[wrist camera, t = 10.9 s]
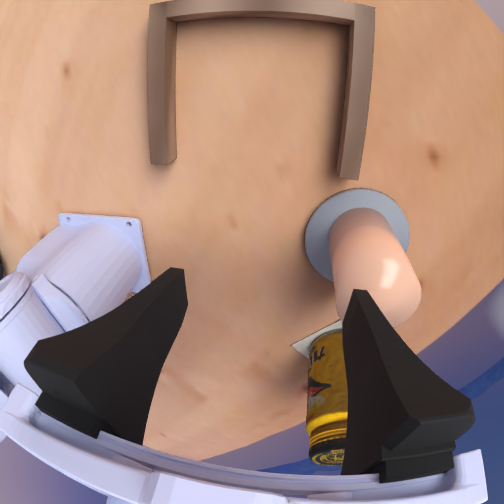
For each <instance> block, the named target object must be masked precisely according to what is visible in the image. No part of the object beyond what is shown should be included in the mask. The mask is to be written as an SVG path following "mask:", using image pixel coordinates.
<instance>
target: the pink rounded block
mask: <svg viewBox="0 0 504 504" xmlns="http://www.w3.org/2000/svg"><path fill="white" fill-rule="evenodd" d="M328 244H329V251H330V258H331V265H332V272H333V280H334V289H335V297H336V306H337V313H338V316H339V318H340V320H341V321H342V322H343V319H344V316H345V313H346V310H347V307H348V304H349V301H350V298H351V295H352V292H353V289H361V290H367V291H368V292H369V294H370V295H371V297H372V298H373V300H374V301H375V303H376V304H377V305H378V307H379V308H380V310H381V311H382V313H383V314H384V316H385V317H386V319H387V320H388V321H389V323H390V324H391V326H392V327H393V328H395V327H397V326H399V325H401V324H402V323H404V322H405V321H406V320H407V319H408V318H410V316H411V315H412V314H413V313H414V312H415V310H416V309H417V307H418V305H419V302H420V299H421V287H420V283H419V281H418V279H417V277H416V275H415V273H414V270H413V268H412V266H411V264H410V262H409V260H408V258H407V256H406V254H405V252H404V250H403V248H402V246H401V244H400V243H399V241H398V239H397V237H396V235H395V233H394V231H393V229H392V228H391V226H390V224H389V222H388V220H387V219H386V218H385V216H384V215H382V214H381V213H380V212H378V211H376V210H374V209H371V208H365V207H360V208H354V209H351V210H348V211H346V212H344V213H343V214H341V215H340V216H339V217H338V218H337V219H336V220H335V221H334V222H333V224H332V226H331V228H330V230H329V234H328Z"/></svg>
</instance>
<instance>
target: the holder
mask: <svg viewBox="0 0 504 504" xmlns="http://www.w3.org/2000/svg"><path fill="white" fill-rule="evenodd" d="M227 17H274V18H291V19H303V20H313V21H321V22H329V23H336V24H342V25H348V26H349V45H348V61H347V75H346V87H345V99H344V109H343V118H342V127H341V136H340V144H339V152H338V159H337V167H336V171H337V173H338V176H339V178H344V179H351V180H357V181H358V179H359V173H360V167H361V161H362V154H363V148H364V141H365V134H366V126H367V118H368V110H369V101H370V91H371V80H372V68H373V53H374V32H375V7H371V6H366V5H361V4H357V3H351V2H346V1H340V0H172V1H166V2H161V3H156V4H151V5H150V9H149V26H148V55H147V94H148V125H149V144H150V159H151V164H168V163H170V162H171V161H173V160H174V159H176V158H177V145H176V103H175V74H176V34H177V22H180V21H188V20H198V19H210V18H227Z"/></svg>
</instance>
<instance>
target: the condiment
mask: <svg viewBox="0 0 504 504" xmlns="http://www.w3.org/2000/svg"><path fill="white" fill-rule="evenodd" d="M292 347H293V348H294V349H296V350H297V351H298V352H300V353H301V354H303V355H304V356H305V357H307V358H308V359H309V370H308V397H307V398H308V400H307V416H306V430H307V432H308V434H309V436H310V439H309V443H310V450H309V458H310V460H311V461H313V462H314V463H316V464H319V465H325V466H342V465H343V458H344V451H345V441H346V430H347V414H348V388H347V379H346V370H345V362H344V353H343V345H342V321H341V320H339V321H338V322H336V323H334V324H332V325H330V326H328V327H325V328H323V329H321V330H319V331H318V332H316V333H314V334H312V335H310V336H308V337H306V338H304V339H303V340H300V341H298V342H297V343H295V344H293V345H292Z"/></svg>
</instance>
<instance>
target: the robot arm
mask: <svg viewBox="0 0 504 504" xmlns="http://www.w3.org/2000/svg"><path fill="white" fill-rule="evenodd" d="M69 218H70V219H69ZM58 219H59V223H60V225H58V226H57V227H56V228H55V229H53V230H52V231H51V232H50V233H49V234H47V235H46V236H45V237H44V238H43V239H41V240H40V241H39V242H38V243H37V244H36V245H35V246H33V247H32V248H31V249H30V250H29V251H28V252H27V253H26V254H25V255H24V256H23V257H22V258H21V260H20V262H19V264H18V266H17V268H16V272H12V273H11V274H9V275H7V276H6V277H4V278H3V279H2V280H0V443H1V442H2V441H3V440H4V438H5V437H6V436H8V437H10V438H11V439H12V440H13V441H15V442H16V443H17V444H19V445H20V446H21V447H23V448H24V449H26V450H27V451H28V452H30V453H31V454H33V455H34V456H36V457H38V458H39V459H40V460H42V461H43V462H45V463H47V464H48V465H50V466H51V467H53V468H55V469H56V470H58V471H60V472H61V473H63V474H65V475H67V476H69V477H70V478H72V479H74V480H76V481H78V482H80V483H81V484H83V485H85V486H87V487H89V488H91V489H93V490H96V491H98V492H100V493H102V494H104V495H107V496H109V497H108V500H107V502H106V504H481V503H483V502H485V501H487V499H488V498H487V488H486V480H485V473H484V467H483V460H482V455H481V450H480V449H477V450H474V451H470V452H466V453H462V454H460V455H457V456H455V457H453V454H452V451H453V450H455V448H456V446H455V440H456V439H458V438H459V437H460V436H462V435H463V434H464V433H465V432H466V431H468V430H469V429H470V428H471V427H472V425H473V424H474V422H475V414H474V410H473V407H472V403H471V400H470V398H468V397H466V396H465V395H463V394H462V393H460V392H459V391H457V390H456V389H454V388H453V387H451V386H450V385H449V384H448V383H446V382H445V381H444V380H442V379H441V378H440V377H439V376H437V375H436V374H435V373H434V372H433V371H432V370H431V369H430V368H428V367H427V366H426V365H425V364H424V363H423V362H422V361H421V360H420V359H419V358H418V357H417V356H416V355H415V354H414V352H413V351H412V350H411V349H410V348H409V347H408V346H407V345H406V343H405V342H404V341H403V340H402V339H401V337H400V336H399V335H398V334H397V332H396V331H395V330H394V328H393V327H392V326H391V324H390V323H389V321H388V320H387V319H386V317H385V316H384V314H383V313H382V311H381V310H380V308H379V307H378V305H377V304H376V303H375V301H374V300H373V298H372V297H371V295H370V294H369V292H368V291H367V290H361V289H353V292H352V295H351V298H350V301H349V304H348V307H347V310H346V313H345V316H344V319H343V322H342V345H343V353H344V362H345V370H346V379H347V388H348V414H347V430H346V441H345V451H344V458H343V465H342V471H341V475H340V476H315V475H291V474H278V473H267V472H258V471H250V470H243V469H237V468H230V467H224V466H219V465H214V464H209V463H204V462H200V461H195V460H191V459H187V458H183V457H179V456H175V455H171V454H168V453H164V452H161V451H157V450H154V449H151V448H148V447H144V446H142V444H143V438H144V433H145V428H146V423H147V418H148V414H149V410H150V406H151V402H152V398H153V395H154V391H155V388H156V385H157V381H158V378H159V375H160V372H161V369H162V367H163V364H164V362H165V360H166V358H167V355H168V353H169V351H170V349H171V347H172V345H173V342H174V340H175V338H176V336H177V334H178V332H179V330H180V327H181V325H182V322H183V319H184V316H185V313H186V310H187V306H188V300H187V293H186V285H185V276H184V269H178V268H169V269H168V270H166V271H165V272H164V273H163V274H161V275H160V276H159V277H158V278H156V279H155V280H154V281H152V282H151V277H150V272H149V267H148V262H147V256H146V251H145V245H144V239H143V233H142V226H141V222H140V220H139V219H137V218H132V217H118V216H105V215H90V214H75V213H61V214H59V216H58ZM128 222H130V223H131V225H130V224H129V223H128ZM130 292H133V293H137V294H135V295H134V296H132V297H131V298H130V299H128V300H127V301H125V302H124V300H125V299H126V297H127V296H128V294H129V293H130ZM123 302H124V303H123ZM150 468H151V469H150ZM153 469H154V470H158V471H153ZM277 493H279V494H277ZM281 494H295V495H309V496H307V499H304V498H293V497H284V496H283V495H281Z"/></svg>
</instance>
